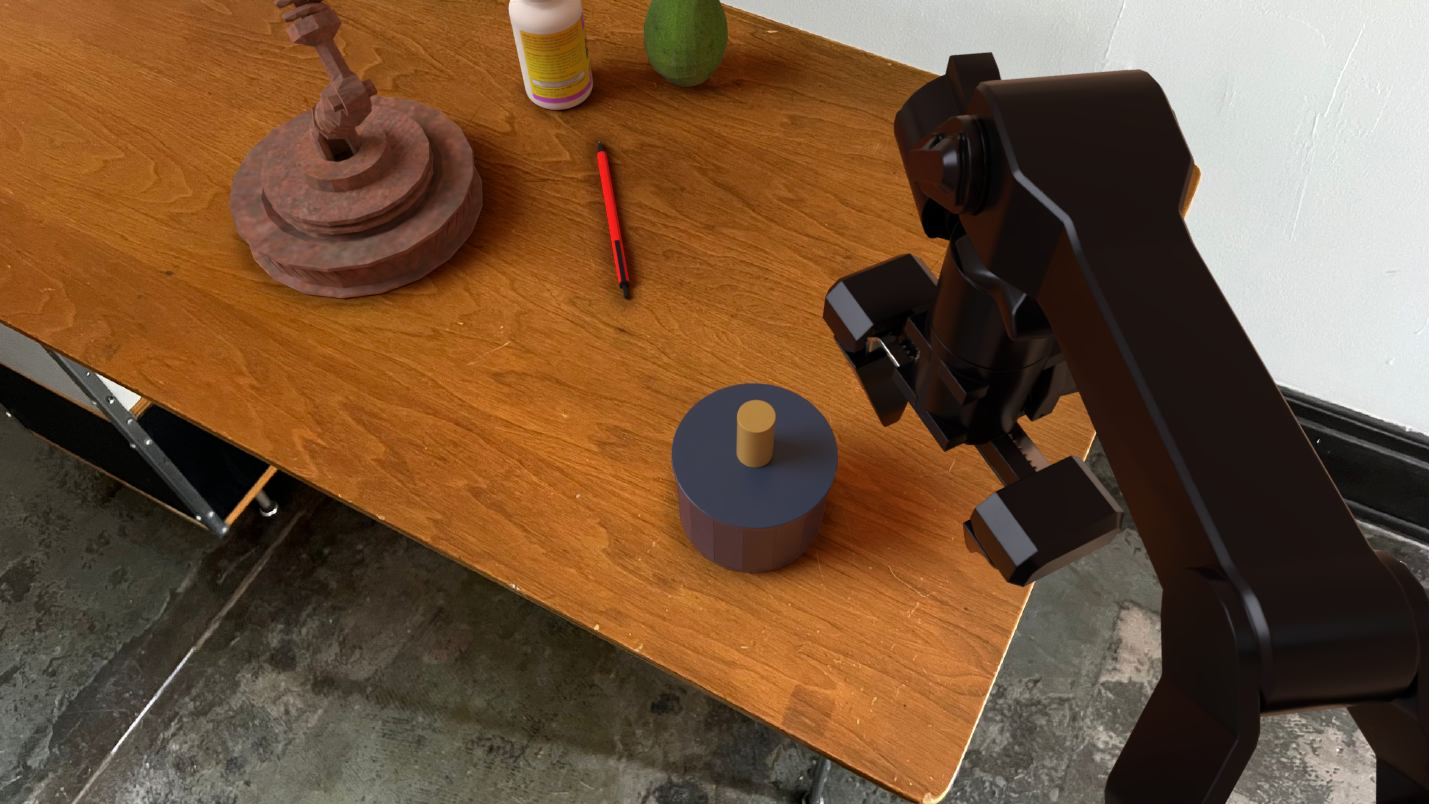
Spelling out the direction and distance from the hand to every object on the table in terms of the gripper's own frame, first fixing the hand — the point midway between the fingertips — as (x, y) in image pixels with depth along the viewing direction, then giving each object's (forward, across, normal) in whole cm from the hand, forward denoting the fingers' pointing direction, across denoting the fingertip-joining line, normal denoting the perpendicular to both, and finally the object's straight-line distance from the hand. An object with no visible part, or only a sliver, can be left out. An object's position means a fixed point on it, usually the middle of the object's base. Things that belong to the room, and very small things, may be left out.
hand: (931, 482), depth 57 cm
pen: (+13, +40, +5) cm, 42 cm away
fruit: (+13, +54, -9) cm, 56 cm away
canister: (+13, +9, +7) cm, 17 cm away
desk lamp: (+13, +52, +25) cm, 59 cm away
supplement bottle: (+13, +58, +3) cm, 60 cm away
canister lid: (+6, +9, +7) cm, 13 cm away
